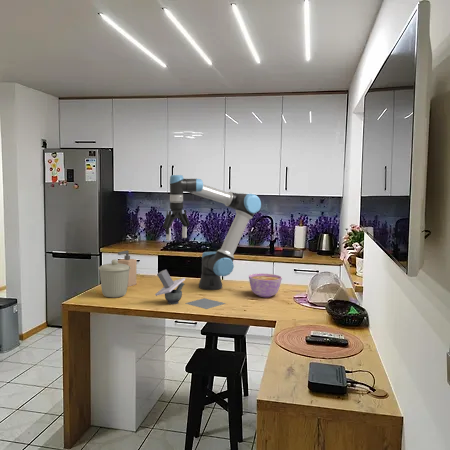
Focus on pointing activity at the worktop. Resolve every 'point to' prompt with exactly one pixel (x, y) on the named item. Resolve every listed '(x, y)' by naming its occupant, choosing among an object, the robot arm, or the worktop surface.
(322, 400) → the worktop surface
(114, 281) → the canister
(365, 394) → the worktop surface
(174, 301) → the mortar and pestle
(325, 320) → the worktop surface
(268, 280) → the bowl of food
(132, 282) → the soap dispenser
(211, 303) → the mat
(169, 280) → the cover board
